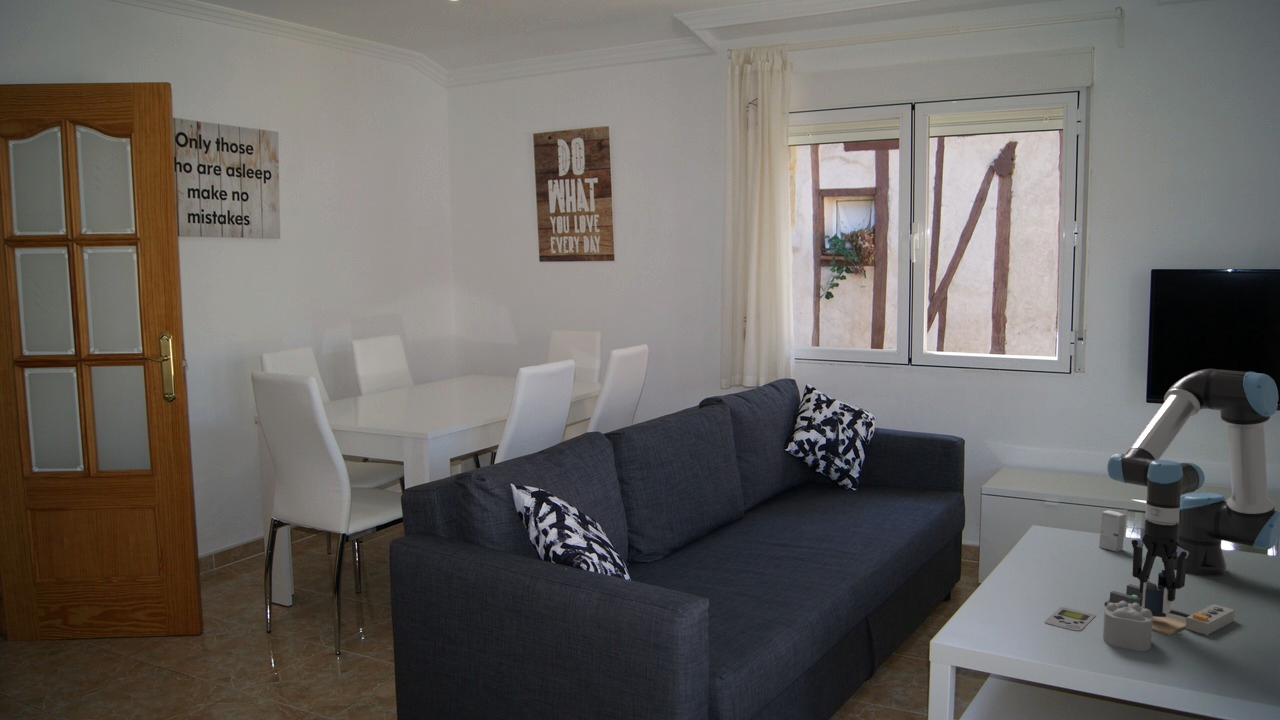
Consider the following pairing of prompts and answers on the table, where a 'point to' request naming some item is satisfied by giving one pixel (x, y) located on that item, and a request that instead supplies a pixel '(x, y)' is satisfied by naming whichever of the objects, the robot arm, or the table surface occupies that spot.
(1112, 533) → the skincare box
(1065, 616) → the handheld gaming device
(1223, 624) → the power strip
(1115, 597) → the frame
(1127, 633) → the lumpy-topped squat cylinder
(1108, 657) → the table surface
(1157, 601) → the vaping device
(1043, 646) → the table surface
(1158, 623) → the mat
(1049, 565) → the table surface
